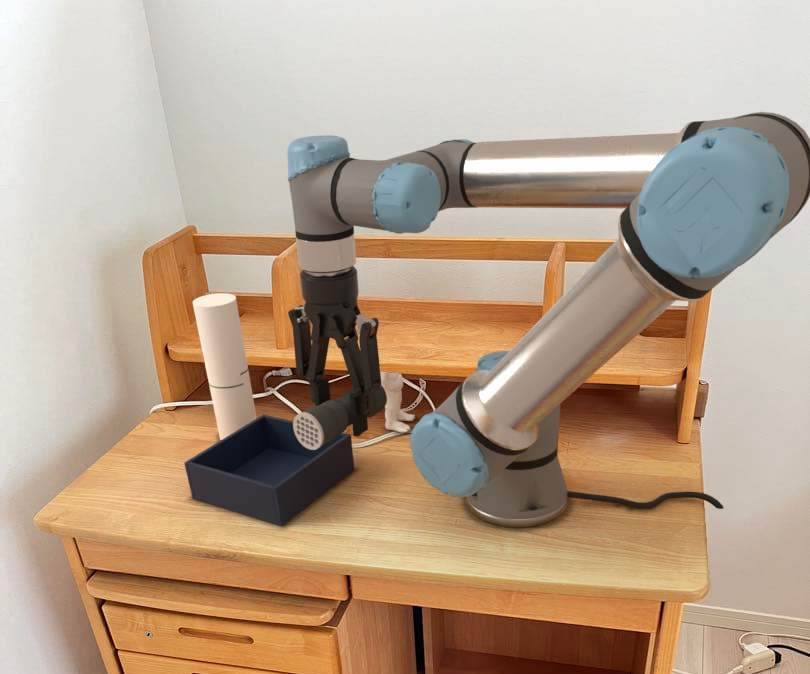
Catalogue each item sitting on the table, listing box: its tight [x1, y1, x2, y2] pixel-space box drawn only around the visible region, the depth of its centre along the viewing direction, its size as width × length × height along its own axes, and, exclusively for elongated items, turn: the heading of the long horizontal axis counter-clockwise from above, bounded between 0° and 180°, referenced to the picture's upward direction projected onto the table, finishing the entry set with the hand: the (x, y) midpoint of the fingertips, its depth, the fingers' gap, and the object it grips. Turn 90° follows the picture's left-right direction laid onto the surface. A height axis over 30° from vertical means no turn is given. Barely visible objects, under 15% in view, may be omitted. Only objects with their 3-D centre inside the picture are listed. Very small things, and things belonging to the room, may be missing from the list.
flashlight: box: [292, 386, 387, 450], centre depth 119 cm, size 15×5×5 cm, turn 143°
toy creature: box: [380, 372, 416, 434], centre depth 147 cm, size 12×6×12 cm, turn 168°
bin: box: [183, 413, 355, 527], centre depth 132 cm, size 18×19×7 cm
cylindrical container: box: [192, 292, 258, 441], centre depth 143 cm, size 7×7×25 cm
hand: (342, 427), depth 120 cm, fingers closed on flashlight, 6 cm apart
